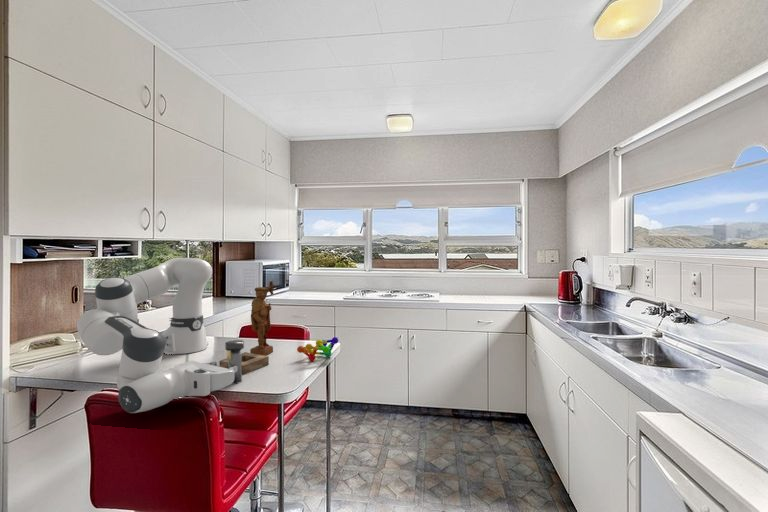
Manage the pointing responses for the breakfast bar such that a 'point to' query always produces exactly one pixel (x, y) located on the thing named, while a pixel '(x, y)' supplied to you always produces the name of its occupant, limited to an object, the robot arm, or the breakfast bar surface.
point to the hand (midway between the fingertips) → (225, 366)
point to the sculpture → (261, 319)
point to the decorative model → (318, 348)
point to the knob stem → (235, 357)
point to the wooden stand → (248, 362)
